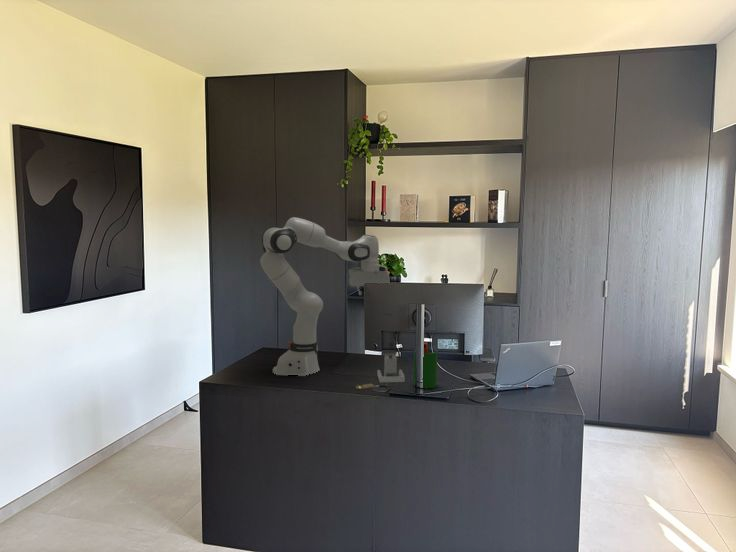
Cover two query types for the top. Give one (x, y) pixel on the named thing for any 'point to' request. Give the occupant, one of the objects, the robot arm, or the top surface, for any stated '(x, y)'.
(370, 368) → the top surface
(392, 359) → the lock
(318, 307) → the robot arm
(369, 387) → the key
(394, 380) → the bracket
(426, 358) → the green utensil holder
